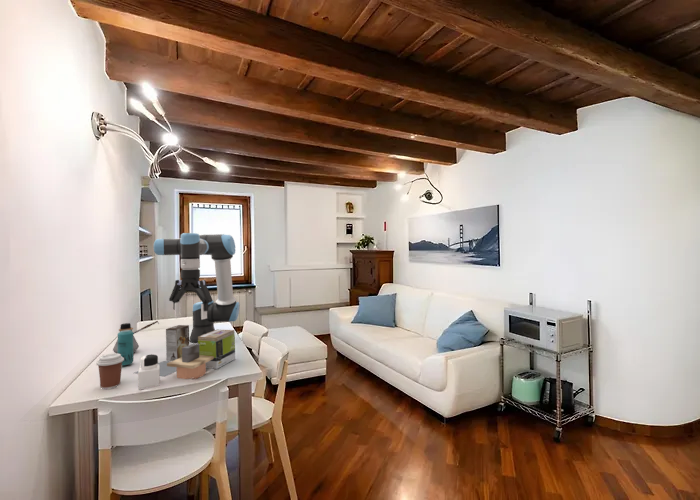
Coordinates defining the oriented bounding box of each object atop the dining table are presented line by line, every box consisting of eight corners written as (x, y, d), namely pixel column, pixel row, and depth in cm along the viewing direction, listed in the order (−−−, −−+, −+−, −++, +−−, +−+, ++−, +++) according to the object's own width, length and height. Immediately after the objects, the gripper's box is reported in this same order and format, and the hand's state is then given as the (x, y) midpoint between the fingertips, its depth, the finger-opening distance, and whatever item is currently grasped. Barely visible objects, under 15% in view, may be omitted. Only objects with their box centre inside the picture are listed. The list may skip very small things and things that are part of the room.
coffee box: (178, 356, 176) (178, 324, 176) (189, 356, 175) (189, 325, 175) (165, 361, 167) (165, 328, 167) (177, 362, 166) (177, 329, 166)
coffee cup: (125, 386, 137) (125, 356, 137) (97, 392, 131) (96, 361, 131) (122, 379, 144) (122, 351, 144) (95, 385, 138) (95, 355, 138)
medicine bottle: (159, 381, 142) (159, 352, 142) (159, 387, 136) (159, 356, 136) (139, 384, 139) (139, 354, 139) (138, 390, 133) (138, 359, 133)
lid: (188, 356, 157) (188, 341, 157) (213, 358, 153) (213, 342, 153) (166, 366, 144) (166, 349, 144) (193, 368, 141) (193, 351, 141)
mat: (163, 362, 167) (163, 360, 167) (193, 365, 162) (193, 363, 162) (132, 374, 150) (132, 373, 150) (164, 377, 146) (164, 376, 146)
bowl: (189, 369, 156) (189, 357, 156) (210, 371, 153) (210, 359, 153) (170, 378, 145) (170, 365, 145) (192, 381, 142) (192, 367, 142)
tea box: (218, 358, 173) (218, 328, 173) (235, 359, 170) (235, 329, 170) (197, 368, 158) (197, 335, 158) (216, 369, 156) (216, 337, 156)
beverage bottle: (119, 365, 163) (118, 322, 163) (135, 363, 165) (135, 321, 165) (115, 369, 157) (115, 325, 157) (132, 367, 159) (131, 324, 159)
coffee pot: (114, 357, 174) (114, 328, 174) (111, 352, 183) (111, 324, 183) (161, 349, 188) (161, 322, 188) (156, 345, 197) (156, 319, 197)
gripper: (159, 269, 149) (160, 318, 149) (209, 269, 142) (209, 321, 142) (173, 268, 156) (173, 315, 156) (220, 268, 149) (221, 317, 149)
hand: (190, 318), depth 149 cm, fingers open, 13 cm apart
